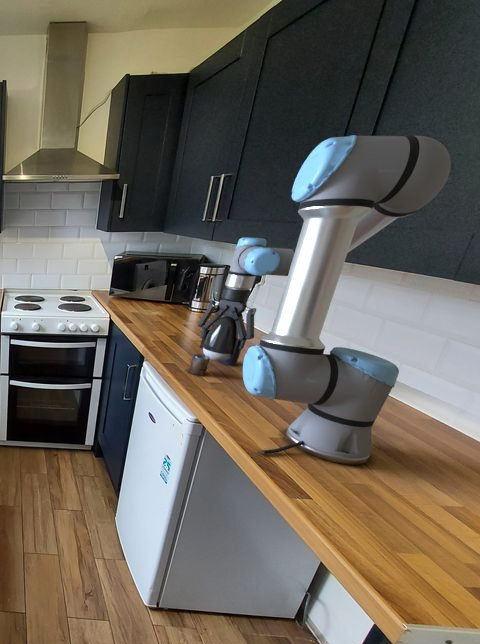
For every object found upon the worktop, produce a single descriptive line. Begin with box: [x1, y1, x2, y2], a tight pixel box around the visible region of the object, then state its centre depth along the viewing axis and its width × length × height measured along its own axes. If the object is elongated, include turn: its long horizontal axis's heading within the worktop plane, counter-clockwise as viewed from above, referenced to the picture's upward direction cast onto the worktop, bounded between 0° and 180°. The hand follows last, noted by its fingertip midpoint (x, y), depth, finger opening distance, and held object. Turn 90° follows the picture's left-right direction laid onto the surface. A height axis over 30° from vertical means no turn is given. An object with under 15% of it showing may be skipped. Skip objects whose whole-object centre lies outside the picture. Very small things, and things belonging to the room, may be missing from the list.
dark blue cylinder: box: [220, 349, 242, 367], centre depth 145 cm, size 5×5×6 cm
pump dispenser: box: [202, 315, 245, 362], centre depth 137 cm, size 10×10×15 cm
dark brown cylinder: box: [188, 353, 211, 377], centre depth 135 cm, size 5×5×6 cm
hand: (217, 352), depth 139 cm, fingers closed on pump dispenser, 10 cm apart
